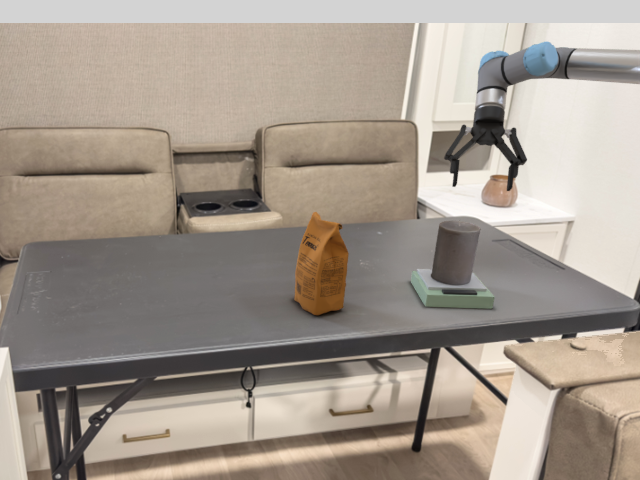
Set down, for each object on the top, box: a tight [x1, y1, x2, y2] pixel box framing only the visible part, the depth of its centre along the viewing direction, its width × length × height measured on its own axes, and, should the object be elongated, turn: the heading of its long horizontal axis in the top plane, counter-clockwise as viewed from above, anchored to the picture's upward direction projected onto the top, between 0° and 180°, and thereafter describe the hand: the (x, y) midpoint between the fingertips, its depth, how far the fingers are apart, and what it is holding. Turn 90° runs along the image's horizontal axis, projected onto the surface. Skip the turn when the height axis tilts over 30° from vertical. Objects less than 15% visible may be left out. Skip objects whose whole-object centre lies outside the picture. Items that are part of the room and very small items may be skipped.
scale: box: [410, 268, 496, 310], centre depth 147 cm, size 16×16×4 cm
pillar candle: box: [431, 220, 482, 285], centre depth 144 cm, size 10×10×15 cm
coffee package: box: [294, 211, 350, 316], centre depth 136 cm, size 10×12×22 cm
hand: (481, 187), depth 152 cm, fingers open, 13 cm apart
